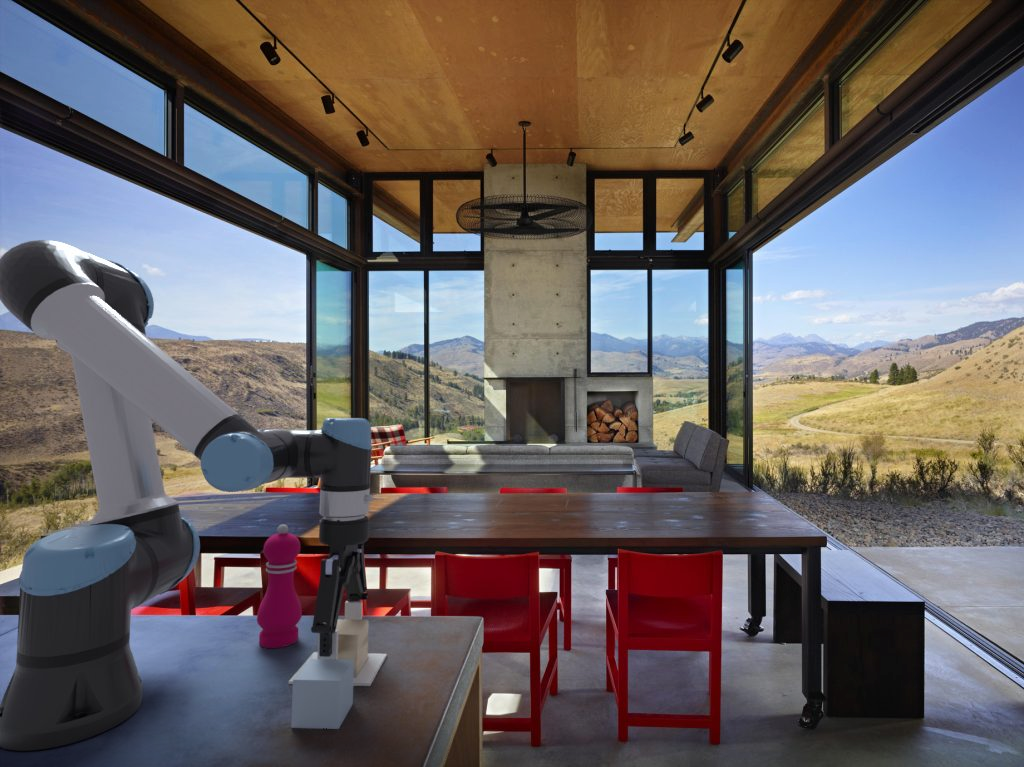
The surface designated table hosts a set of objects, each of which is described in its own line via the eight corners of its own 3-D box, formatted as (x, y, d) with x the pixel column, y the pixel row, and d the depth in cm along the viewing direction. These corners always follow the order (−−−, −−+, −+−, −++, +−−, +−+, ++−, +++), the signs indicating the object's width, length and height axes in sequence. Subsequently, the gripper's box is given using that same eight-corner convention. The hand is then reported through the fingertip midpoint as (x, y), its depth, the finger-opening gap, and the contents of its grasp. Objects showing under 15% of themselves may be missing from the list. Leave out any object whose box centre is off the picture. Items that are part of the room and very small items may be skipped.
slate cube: (291, 728, 71) (292, 679, 71) (309, 703, 77) (310, 658, 77) (338, 729, 71) (339, 680, 71) (352, 704, 77) (353, 659, 77)
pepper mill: (263, 653, 92) (268, 530, 93) (250, 639, 97) (254, 523, 98) (307, 642, 97) (311, 525, 98) (292, 629, 102) (296, 518, 103)
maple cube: (316, 674, 84) (318, 633, 84) (330, 657, 90) (331, 619, 90) (356, 675, 84) (357, 634, 84) (367, 658, 90) (368, 620, 90)
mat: (288, 684, 82) (288, 680, 82) (313, 654, 92) (314, 651, 92) (369, 686, 82) (370, 682, 82) (386, 656, 92) (386, 653, 92)
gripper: (344, 533, 76) (339, 697, 75) (387, 504, 100) (383, 628, 99) (289, 531, 76) (284, 696, 75) (345, 503, 100) (341, 627, 99)
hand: (340, 658), depth 87 cm, fingers open, 11 cm apart
